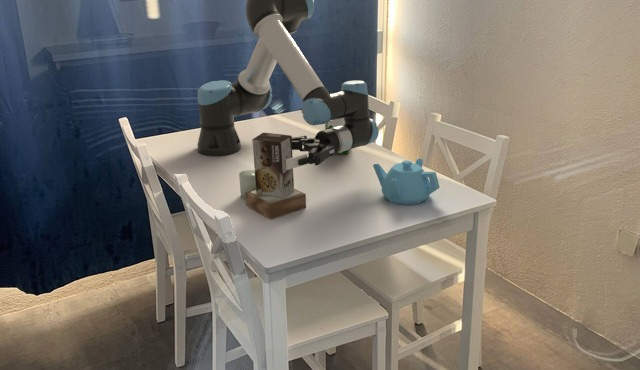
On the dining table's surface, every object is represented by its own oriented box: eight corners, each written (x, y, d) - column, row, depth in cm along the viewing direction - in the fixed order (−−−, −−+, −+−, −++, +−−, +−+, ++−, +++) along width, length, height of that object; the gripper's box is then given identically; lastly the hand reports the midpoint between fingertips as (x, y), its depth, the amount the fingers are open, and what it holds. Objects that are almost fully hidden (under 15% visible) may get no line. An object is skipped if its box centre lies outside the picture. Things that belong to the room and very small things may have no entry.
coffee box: (295, 190, 177) (292, 135, 170) (284, 199, 171) (281, 142, 165) (266, 185, 180) (263, 131, 174) (255, 194, 175) (251, 138, 169)
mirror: (246, 205, 178) (245, 191, 176) (280, 194, 185) (280, 181, 183) (270, 219, 169) (269, 204, 168) (306, 207, 176) (305, 193, 175)
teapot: (388, 210, 173) (389, 174, 169) (371, 190, 187) (372, 155, 183) (440, 204, 177) (442, 168, 172) (420, 184, 190) (421, 150, 186)
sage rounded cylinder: (236, 195, 185) (235, 173, 182) (254, 190, 188) (252, 168, 186) (248, 202, 181) (246, 179, 178) (265, 196, 184) (264, 174, 181)
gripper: (361, 164, 176) (300, 184, 164) (307, 143, 194) (248, 159, 182) (361, 138, 173) (299, 156, 161) (306, 119, 191) (246, 134, 179)
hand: (272, 158), depth 171 cm, fingers open, 13 cm apart
